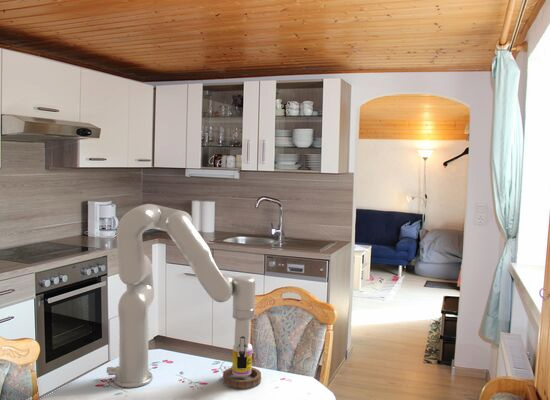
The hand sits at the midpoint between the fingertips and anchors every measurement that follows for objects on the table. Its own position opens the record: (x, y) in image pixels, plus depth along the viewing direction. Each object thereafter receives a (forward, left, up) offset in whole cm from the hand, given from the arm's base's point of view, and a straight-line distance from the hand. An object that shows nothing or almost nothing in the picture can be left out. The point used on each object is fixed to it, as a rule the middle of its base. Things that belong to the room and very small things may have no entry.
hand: (242, 363), depth 172 cm
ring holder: (0, 0, -6) cm, 6 cm away
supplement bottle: (0, 0, -4) cm, 4 cm away
